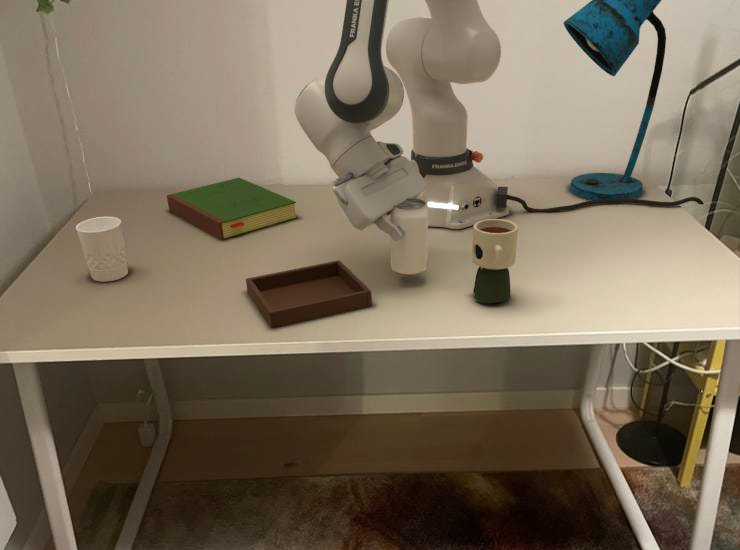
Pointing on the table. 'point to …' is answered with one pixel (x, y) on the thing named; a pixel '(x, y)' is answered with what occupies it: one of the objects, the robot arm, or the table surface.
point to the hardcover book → (231, 208)
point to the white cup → (103, 248)
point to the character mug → (493, 258)
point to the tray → (307, 293)
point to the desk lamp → (610, 51)
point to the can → (410, 237)
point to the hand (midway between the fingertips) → (412, 230)
